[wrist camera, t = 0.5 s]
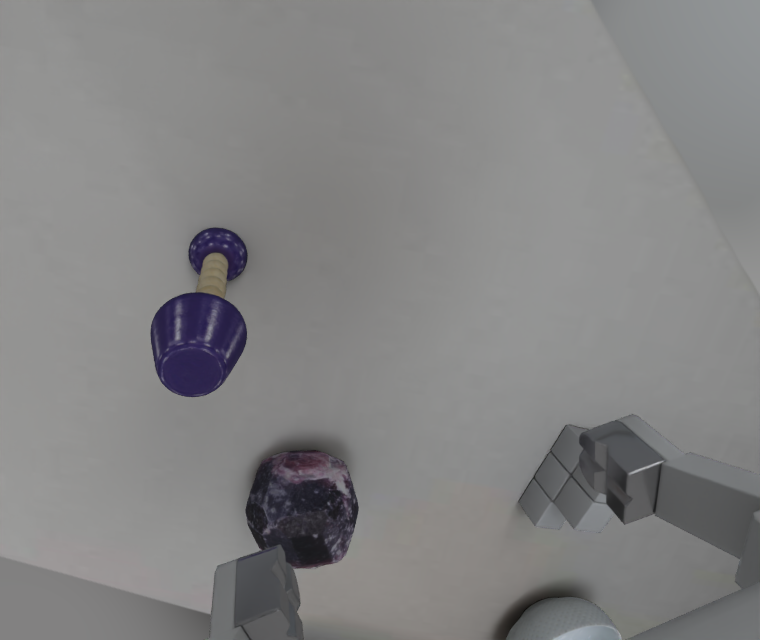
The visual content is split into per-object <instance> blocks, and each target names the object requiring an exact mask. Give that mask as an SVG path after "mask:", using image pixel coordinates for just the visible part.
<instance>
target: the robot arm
mask: <svg viewBox="0 0 760 640" xmlns="http://www.w3.org/2000/svg"><path fill="white" fill-rule="evenodd" d="M579 444H580V445H581V446H582V448H583V450H582V452H581V453H580V455H579V466H580V468H581V471H582V474H583V476H584V477H585V479H586V481H587V482H588V484H589V485H590V486H591V487H592V488H593V489H594V490H595V491H597V492H599V493H602V494H604V495H606V504H607V505H608V507H609V508H610V509H611V510H612V511H613V512H614V513H615V514H616V516H617V517H618V518H619V519H620V520H621V521H622V522H623V523H624V525H625V524H628V523H630V522H633V521H636V520H639V519H641V518H644V517H647V516H650V515H652V514H655V516H657V517H659V518H661V519H663V520H665V521H667V522H669V523H671V524H673V525H675V526H677V527H678V528H680V529H682V530H684V531H686V532H688V533H690V534H692V535H694V536H696V537H698V538H700V539H702V540H704V541H706V542H708V543H710V544H712V545H714V546H715V547H717V548H719V549H721V550H723V551H725V552H727V553H729V554H731V555H733V556H735V557H737V558H739V559H740V561H739V565H738V568H737V572H736V575H735V582H736V583H737V584H738V585H739V586H740V587H741V588H742V589H741V590H738V591H736V592H734V593H731V594H729V595H727V596H724V597H722V598H720V599H718V600H715V601H713V602H711V603H708V604H706V605H704V606H702V607H699V608H697V609H695V610H692V611H690V612H688V613H685V614H683V615H681V616H679V617H676V618H674V619H672V620H669V621H667V622H665V623H663V624H660V625H658V626H656V627H653V628H651V629H649V630H646V631H644V632H642V633H640V634H637V635H635V636H633V637H630V638H628V639H626V640H760V474H758V473H755V472H752V471H748V470H745V469H742V468H739V467H736V466H732V465H729V464H726V463H723V462H720V461H717V460H713V459H710V458H707V457H704V456H701V455H697V454H694V453H691V452H690V453H687V454H685V453H683V452H682V451H681V450H680V449H678V448H677V447H676V446H675V445H673V444H672V443H671V442H670V441H668V440H667V439H666V438H665V437H663V436H662V435H661V434H660V433H659V432H657V431H656V430H655V429H654V428H652V427H651V426H650V425H649V424H647V423H646V422H645V421H644V420H642V419H641V418H640V417H639V416H637V415H634V414H631V415H628V416H626V417H623V418H620V419H617V420H615V421H611V422H608V423H606V424H603V425H600V426H598V427H595V428H593V429H590V430H587V431H585V432H582V433H581V434H580V436H579ZM300 604H301V603H300V594H299V588H298V583H297V579H296V576H295V573H294V570H293V568H292V566H291V564H290V563H287V562H286V559H285V552H284V550H283V548H282V546H281V544H280V545H276V546H273V547H270V548H267V549H264V550H262V551H259V552H256V553H253V554H250V555H247V556H244V557H241V558H238V559H235V560H232V561H230V562H227V563H224V564H221V565H218V566H217V569H216V571H215V575H214V587H213V599H212V611H211V622H210V634H209V638H207V639H205V640H304V636H303V624H302V621H301V619H300V617H299V615H298V613H297V610H298V608H299V606H300Z"/></svg>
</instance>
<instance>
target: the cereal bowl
mask: <svg viewBox="0 0 760 640" xmlns="http://www.w3.org/2000/svg"><path fill="white" fill-rule="evenodd" d="M506 640H621V635H620V633H619V631H618V629H617V628H616V626H615V625H614V623H613V622H612V620H611V619H610V618H609V617H608V615H607V614H605V612H604V611H603V610H601V609H600V607H598V606H597V605H596V604H593V603H592V602H589V601H587V600H584V599H580V598H575V597H564V598H547V599H543V600H541V601H538V602H536V603H535V604H533V605H531V606H530V607H529V608H528V609H527V610H525V612H524V613H523V614H522V615H521V617H520V619H519V620H518V621H517V622H516V623H515V624H514V626H513V627H512V628H511V630H510V631H509V634H508V635H507V638H506Z"/></svg>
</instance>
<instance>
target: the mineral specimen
mask: <svg viewBox="0 0 760 640" xmlns="http://www.w3.org/2000/svg"><path fill="white" fill-rule="evenodd" d="M358 509H359V507H358V502H357V498H356V495H355V491H354V488H353V484H352V481H351V478H350V474H349V472H348V469H347V466H346V464H345V463H344V461H342V460H340V459H338V458H335V457H332V456H330V455H328V454H326V453H323V452H320V451H316V450H311V451H291V452H283V453H280V454H276V455H274V456H271V457H269V458H267V459H265V460H263V461H262V462H261V464H260V467H259V469H258V471H257V474H256V478H255V480H254V483H253V486H252V489H251V492H250V495H249V498H248V501H247V506H246V516H247V523H248V526H249V528H250V530H251V532H252V535H253V537H254V539H255V541H256V543H257V544H258V546H259V548H260V549H261V550H264V549H267V548H270V547H273V546H276V545H280V544H281V546H282V548H283V550H284V552H285V559H286V562H287V563H290V564H291V566H292V568H305V569H316V568H318V567H320V566H323V565H327V564H333V563H337V562H338V561H340V560H342V558H343V557H344V556H345V555H346V553H347V550H348V547H349V544H350V542H351V538H352V534H353V532H354V528H355V524H356V519H357V515H358Z"/></svg>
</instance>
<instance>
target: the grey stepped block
mask: <svg viewBox="0 0 760 640" xmlns="http://www.w3.org/2000/svg"><path fill="white" fill-rule="evenodd" d="M587 430H588V429H583V428H579V427H575V426H570V425H566V427H565V429H564V430H563V432H562V433H561V435H560V436H559V438H558V440H557V441H556V443H555V444H554V446H553V448H552V449H551V452H552V453H549V454H548V456H547V457H546V459H545V460H544V462H543V464H542V465H541V467H540V468H539V470H538V472H537V473H536V475H535V479H533V480H532V481H531V483H530V484H529V486H528V488H527V489H526V491H525V492H524V494H523V496H522V497H521V499H520V500H519V503H520V505H521V506H522V508H523V509H524V511H525V512H526V514H527V515H528V517H529V518H530V520H531V521H532V523H533V524H534V526H535V527H541V528H550V529H560V528H561V527H562V525H563V524H564V522H565V521H566V520H567V521H568V522H569V524H570V525H571V526H572V527H573V529H574V530H578V531H587V532H596V533H601V531H602V530H603V529H604V527H605V526H606V524H607V523H608V522H609V520H610V519H611V517H612V516H613V515H614V512H613V511H612V510H611V509H610V508H609V507H608V505H607V504H606V495H604V494H602V493H599V492H597V491H595V490H594V489H593V488H592V487H591V486H590V485H589V484H588V482H587V481H586V479H585V477H584V476H583V474H582V471H581V468H580V466H579V455H580V453H581V452H582V450H583V448H582V446H581V445H580V444H579V436H580V434H581V433H582V432H585V431H587Z"/></svg>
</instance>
